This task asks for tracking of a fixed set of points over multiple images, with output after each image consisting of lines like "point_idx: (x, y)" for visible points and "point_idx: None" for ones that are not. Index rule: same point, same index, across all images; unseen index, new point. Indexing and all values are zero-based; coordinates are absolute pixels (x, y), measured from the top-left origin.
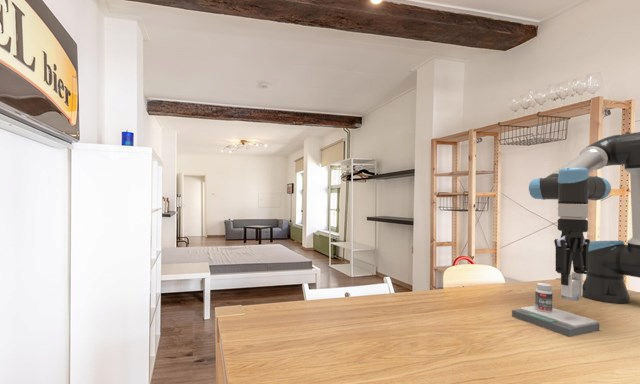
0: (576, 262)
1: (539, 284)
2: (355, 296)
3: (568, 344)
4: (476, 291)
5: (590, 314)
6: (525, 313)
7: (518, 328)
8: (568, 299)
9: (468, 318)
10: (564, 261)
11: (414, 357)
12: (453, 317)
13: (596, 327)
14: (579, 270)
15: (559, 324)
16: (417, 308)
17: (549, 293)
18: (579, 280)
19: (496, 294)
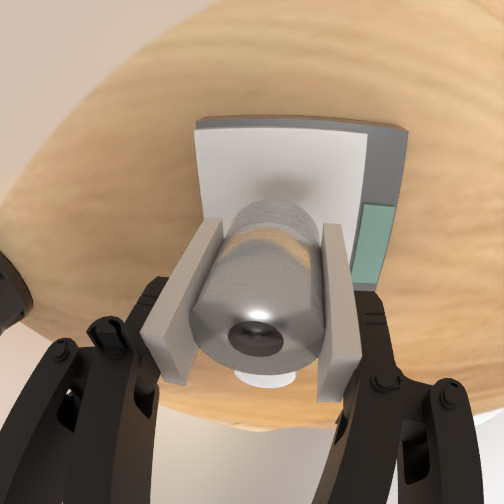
0: (136, 463)
1: (289, 379)
2: None
3: (467, 100)
4: (239, 408)
5: (90, 231)
6: None
7: (455, 245)
8: (317, 231)
9: (465, 328)
10: (471, 497)
11: None
12: (478, 338)
13: (220, 118)
14: (136, 377)
15: (382, 180)
16: (466, 379)
17: None
18: (237, 287)
19: (211, 390)
